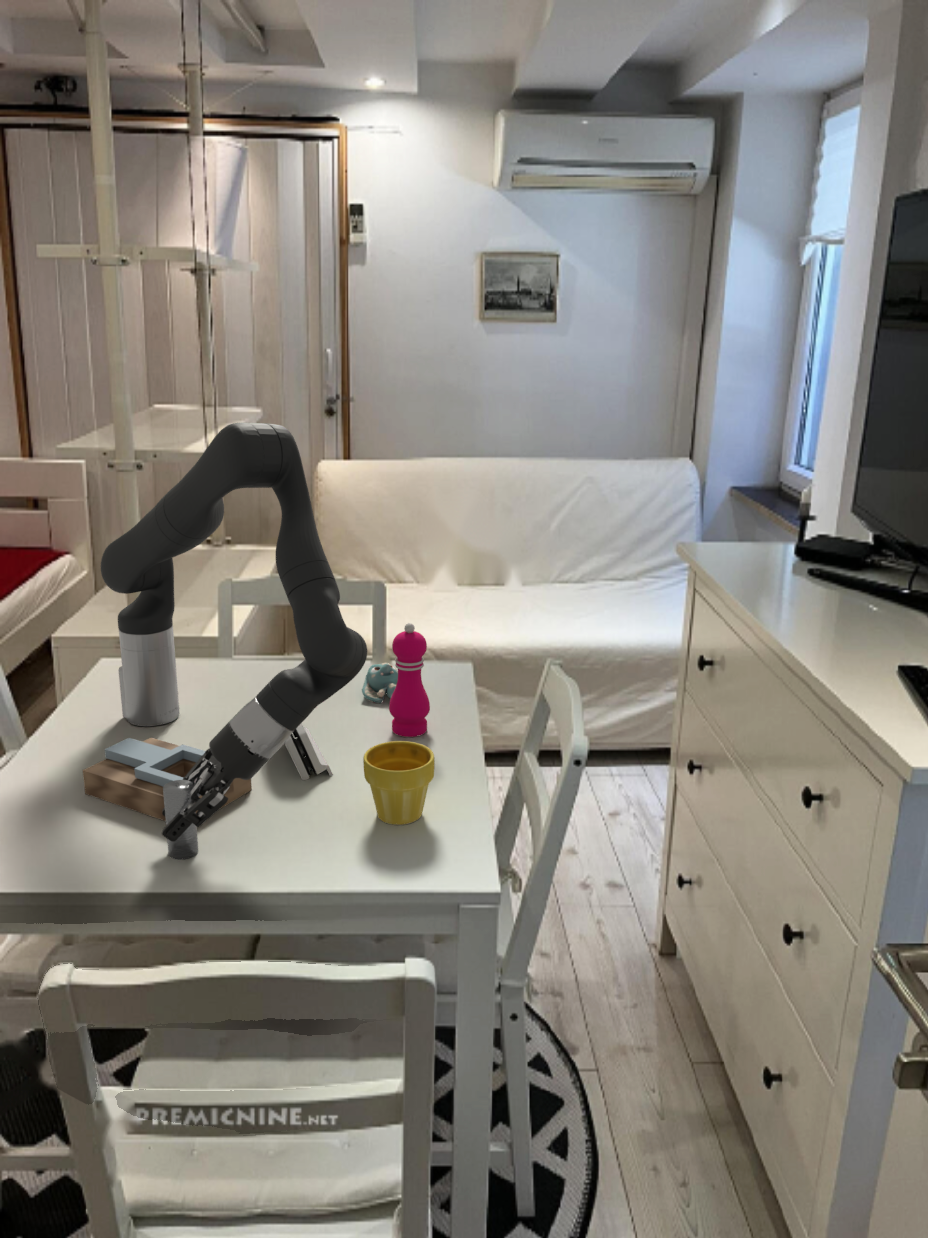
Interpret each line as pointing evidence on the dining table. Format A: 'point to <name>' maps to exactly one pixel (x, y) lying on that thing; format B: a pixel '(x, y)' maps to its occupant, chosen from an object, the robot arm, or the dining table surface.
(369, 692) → the stuffed animal
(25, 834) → the dining table surface
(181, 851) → the pin
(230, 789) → the wooden block
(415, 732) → the pepper mill
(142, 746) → the link
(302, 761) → the white game console
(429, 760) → the plant pot
